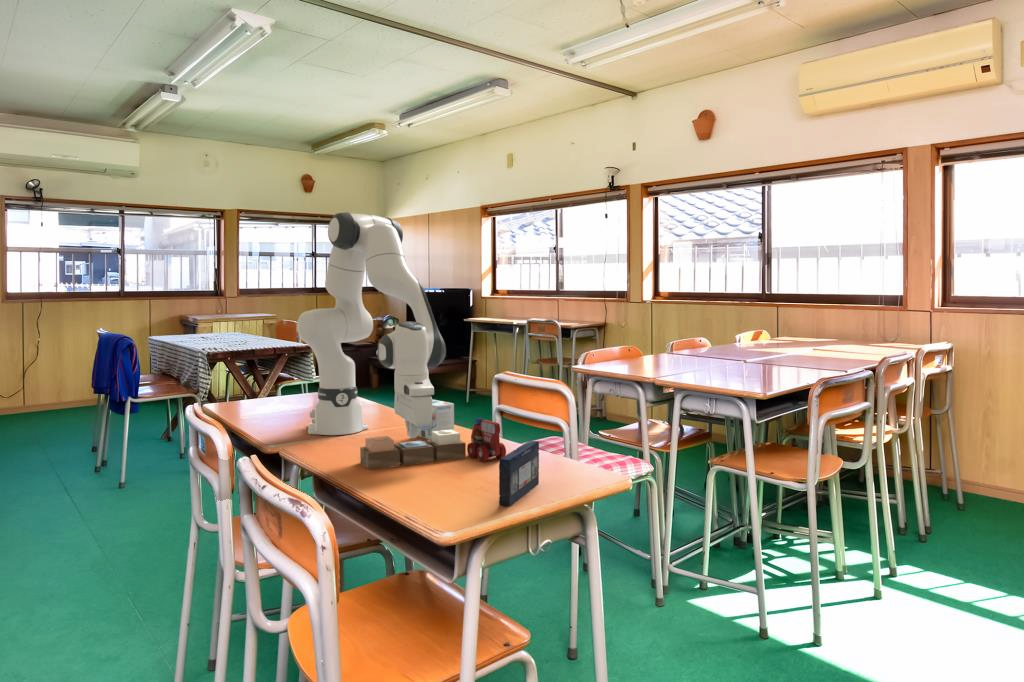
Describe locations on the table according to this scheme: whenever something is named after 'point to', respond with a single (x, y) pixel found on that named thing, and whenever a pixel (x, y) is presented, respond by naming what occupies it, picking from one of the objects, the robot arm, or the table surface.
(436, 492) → the table surface
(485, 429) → the toy fire truck
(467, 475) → the table surface
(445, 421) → the light bulb box
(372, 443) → the terracotta block
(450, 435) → the cream block
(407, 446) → the slate block
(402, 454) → the walnut bases
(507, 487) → the vhs cassette tape
